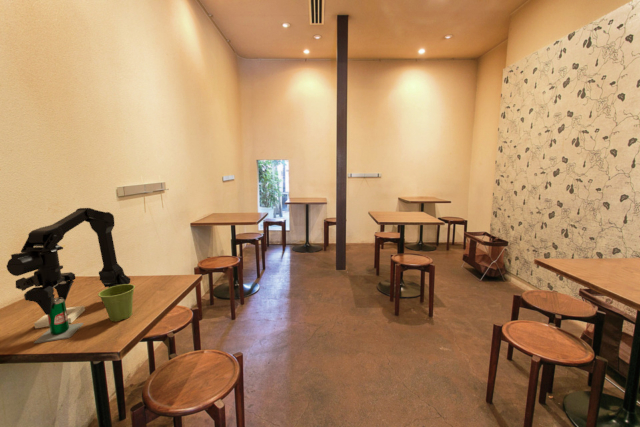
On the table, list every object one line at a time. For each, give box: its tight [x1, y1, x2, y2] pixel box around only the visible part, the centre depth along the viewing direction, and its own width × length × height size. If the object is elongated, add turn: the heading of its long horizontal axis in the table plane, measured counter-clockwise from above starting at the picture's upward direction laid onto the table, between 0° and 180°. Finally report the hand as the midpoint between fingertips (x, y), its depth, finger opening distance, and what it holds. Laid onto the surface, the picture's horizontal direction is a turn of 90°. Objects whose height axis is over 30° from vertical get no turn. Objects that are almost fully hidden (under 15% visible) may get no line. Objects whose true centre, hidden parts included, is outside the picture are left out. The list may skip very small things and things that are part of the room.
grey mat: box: [33, 322, 84, 344], centre depth 106 cm, size 10×10×1 cm
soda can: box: [48, 297, 70, 335], centre depth 105 cm, size 5×5×12 cm
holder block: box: [34, 305, 86, 329], centre depth 117 cm, size 11×11×2 cm
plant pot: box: [97, 283, 136, 322], centre depth 115 cm, size 12×12×11 cm
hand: (55, 308), depth 104 cm, fingers open, 9 cm apart
